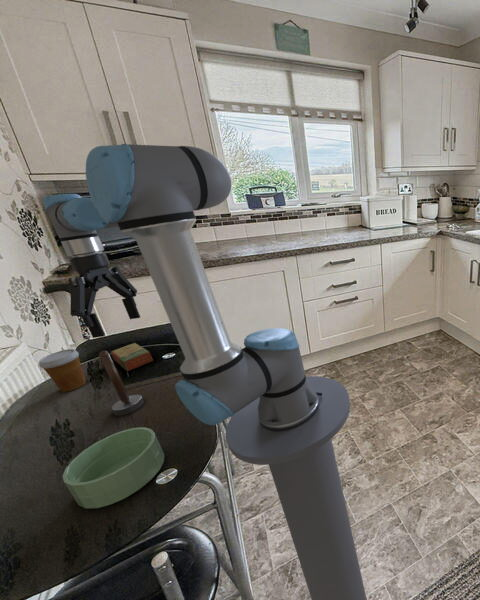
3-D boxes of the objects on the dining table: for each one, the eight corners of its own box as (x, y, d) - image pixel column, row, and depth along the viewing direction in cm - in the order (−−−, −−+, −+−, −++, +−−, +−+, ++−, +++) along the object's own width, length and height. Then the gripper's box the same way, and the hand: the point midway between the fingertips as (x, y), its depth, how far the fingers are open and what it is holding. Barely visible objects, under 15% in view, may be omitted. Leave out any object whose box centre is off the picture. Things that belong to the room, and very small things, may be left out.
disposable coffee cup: (59, 397, 105) (41, 365, 101) (51, 390, 110) (33, 359, 106) (96, 381, 113) (81, 351, 108) (87, 375, 118) (72, 346, 113)
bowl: (166, 440, 81) (155, 418, 79) (164, 482, 69) (152, 457, 67) (87, 472, 74) (73, 449, 72) (69, 526, 62) (52, 499, 59)
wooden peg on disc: (144, 397, 101) (120, 342, 94) (142, 408, 95) (116, 351, 88) (116, 406, 97) (88, 351, 91) (112, 419, 92) (83, 361, 85)
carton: (139, 351, 132) (135, 342, 131) (154, 360, 123) (150, 350, 122) (114, 360, 126) (109, 351, 125) (127, 371, 117) (123, 361, 116)
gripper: (109, 249, 99) (136, 313, 106) (24, 266, 76) (65, 347, 82) (134, 245, 100) (159, 310, 106) (57, 262, 76) (95, 343, 83)
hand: (118, 326), depth 94 cm, fingers open, 13 cm apart
